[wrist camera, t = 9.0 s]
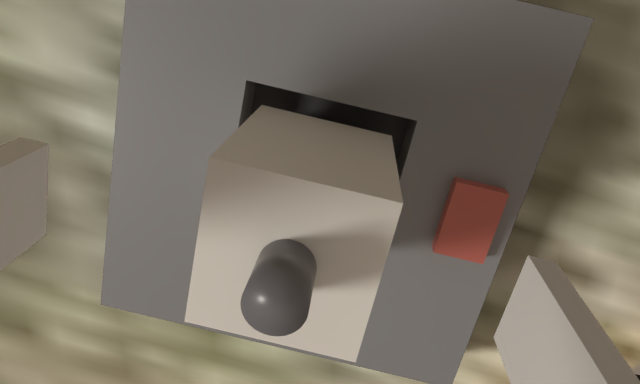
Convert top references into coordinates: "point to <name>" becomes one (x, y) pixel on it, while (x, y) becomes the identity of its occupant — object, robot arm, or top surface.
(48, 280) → the top surface
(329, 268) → the plug
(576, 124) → the top surface
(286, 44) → the socket
